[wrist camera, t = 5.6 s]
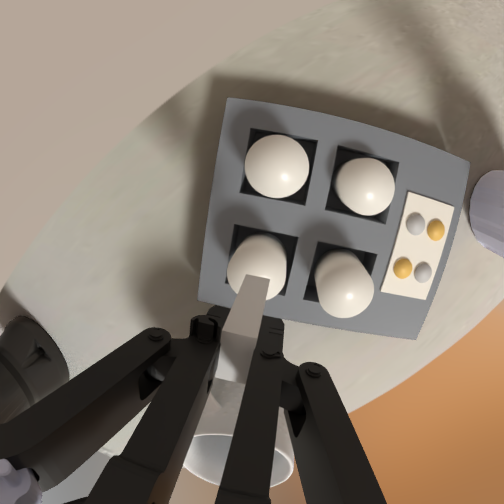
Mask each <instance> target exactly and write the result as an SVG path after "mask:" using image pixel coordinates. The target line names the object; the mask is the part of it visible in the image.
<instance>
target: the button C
mask: <svg viewBox="0 0 504 504" xmlns="http://www.w3.org/2000/svg"><path fill="white" fill-rule="evenodd" d="M314 277H315V282H316V288H317V293H318V298H319V302H320V305H321V306H322V308H323V309H324V310H325V311H326V312H327V313H328V314H330V315H332V316H334V317H338V318H349V317H353V316H356V315H358V314H360V313H361V312H362V311H364V310H365V309H366V308H367V307H368V305H369V304H370V302H371V300H372V298H373V294H374V284H373V281H372V278H371V277H370V275H369V274H368V272H367V271H366V269H365V268H364V266H363V265H362V263H361V262H360V260H359V259H358V257H357V256H356V255H355V254H354V253H353V252H351V251H349V250H346V249H341V248H338V249H332V250H329V251H327V252H326V253H324V254H323V255H322V256H321V257H320V258H319V259H318V261H317V263H316V265H315V269H314Z"/></svg>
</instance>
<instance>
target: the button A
mask: <svg viewBox="0 0 504 504" xmlns="http://www.w3.org/2000/svg"><path fill="white" fill-rule="evenodd" d="M286 263H287V254H286V249H285V247H284V245H283V243H282V242H281V241H280V240H279V239H278V238H277V237H276V236H274V235H272V234H270V233H265V232H257V233H253V234H251V235H249V236H247V237H246V238H245V239H244V240H243V241H242V242H241V243H240V245H239V247H238V248H237V250H236V251H235V253H234V255H233V256H232V258H231V260H230V262H229V264H228V268H227V278H228V282H229V284H230V286H231V288H232V289H233V290H234V291H235V293H237V294H238V292H239V289H240V287H241V285H242V282H243V280H244V278H245V275H246V274H249V275H254V276H258V277H263V278H268V279H270V282H269V287H268V292H267V297H266V300H269V299H271V298H273V297H274V296H276V295H277V294H278V293H279V292H280V291H281V289H282V288H283V286H284V284H285V280H286Z"/></svg>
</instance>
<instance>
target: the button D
mask: <svg viewBox="0 0 504 504" xmlns="http://www.w3.org/2000/svg"><path fill="white" fill-rule="evenodd" d="M332 188H333V191H334V193H335V195H336V197H337V198H338V199H339V200H340V201H341V202H342V203H343V204H345V205H346V206H347V207H349V208H350V209H351V210H353V211H354V212H356V213H358V214H361V215H375V214H378V213H380V212H382V211H383V210H385V209H386V208H387V207H388V206H389V204H390V203H391V201H392V199H393V196H394V191H395V184H394V179H393V176H392V174H391V172H390V170H389V169H388V168H387V167H386V166H385V165H384V164H383V163H382V162H380V161H378V160H376V159H372V158H358V159H349V160H346V161H344V162H342V163H341V164H340V165H339V166H338V167H337V168H336V170H335V171H334V174H333V177H332Z"/></svg>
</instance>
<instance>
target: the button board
mask: <svg viewBox="0 0 504 504" xmlns="http://www.w3.org/2000/svg"><path fill="white" fill-rule="evenodd" d="M270 135H283V136H287V137H289V138H292V139H293V140H295V141H296V142H298V143H299V144H300V145H301V146H302V148H303V149H304V151H305V152H306V155H307V157H308V161H309V173H308V176H307V179H306V181H305V183H304V184H303V186H302V187H301V188H300V189H299V190H298V191H297V192H295V193H294V194H292V195H290V196H287V197H283V198H271V197H267V196H265V195H262V194H261V193H259V192H258V191H256V190H255V189H254V188H253V187H252V186H251V184H250V183H249V181H248V179H247V177H246V173H245V159H246V155H247V153H248V151H249V149H250V148H251V147H252V145H253V144H254V143H255V142H257V141H258V140H260V139H261V138H263V137H266V136H270ZM358 158H372V159H376V160H378V161H380V162H382V163H383V164H384V165H385V166H386V167H387V168H388V169H389V170H390V172H391V174H392V176H393V179H394V184H395V191H394V196H393V199H392V201H391V203H390V204H389V206H388V207H387V208H386V209H385V210H383V211H382V212H380V213H378V214H375V215H361V214H358V213H356V212H354V211H353V210H351V209H350V208H349V207H347V206H346V205H345V204H343V203H342V202H341V201H340V200H339V199H338V198H337V197H336V195H335V193H334V191H333V188H332V177H333V174H334V171H335V170H336V168H337V167H338V166H339V165H340V164H341V163H342V162H344V161H346V160H349V159H358ZM469 169H470V162H469V161H466V160H464V159H462V158H460V157H457V156H455V155H453V154H450V153H448V152H446V151H443V150H441V149H438V148H436V147H433V146H430V145H428V144H425V143H423V142H420V141H417V140H414V139H411V138H409V137H406V136H403V135H400V134H397V133H394V132H391V131H388V130H384V129H381V128H378V127H375V126H371V125H368V124H364V123H361V122H357V121H353V120H349V119H346V118H342V117H338V116H333V115H329V114H325V113H321V112H316V111H311V110H306V109H301V108H296V107H291V106H286V105H280V104H274V103H267V102H261V101H254V100H246V99H238V98H229V97H227V102H226V108H225V113H224V118H223V124H222V129H221V135H220V141H219V146H218V152H217V158H216V164H215V170H214V177H213V183H212V190H211V196H210V203H209V210H208V217H207V224H206V232H205V239H204V247H203V255H202V263H201V271H200V280H199V289H198V298H197V300H198V301H202V302H206V303H210V304H215V305H219V306H223V307H228V308H232V306H233V303H234V301H235V299H236V296H237V293H235V291H234V290H233V289H232V288H231V286H230V284H229V282H228V278H227V268H228V264H229V262H230V260H231V258H232V256H233V255H234V253H235V251H236V250H237V248H238V247H239V245H240V243H241V242H242V241H243V240H244V239H245V238H246V237H247V236H249V235H251V234H253V233H257V232H265V233H270V234H272V235H274V236H276V237H277V238H278V239H279V240H280V241H281V242H282V243H283V245H284V247H285V249H286V254H287V263H286V280H285V284H284V286H283V288H282V289H281V291H280V292H279V293H278V294H277V295H276V296H274V297H273V298H271V299H269V300H266V301H265V306H264V311H263V315H265V316H270V317H275V318H280V319H285V320H291V321H296V322H301V323H307V324H312V325H318V326H324V327H329V328H335V329H341V330H348V331H354V332H360V333H367V334H374V335H381V336H388V337H396V338H403V339H411V340H416V339H417V336H418V334H419V332H420V330H421V328H422V325H423V323H424V321H425V318H426V316H427V314H428V311H429V309H430V306H431V304H432V301H433V299H434V296H435V294H436V291H437V288H438V286H439V283H440V280H441V277H442V274H443V271H444V268H445V265H446V262H447V259H448V256H449V253H450V250H451V246H452V243H453V240H454V236H455V232H456V229H457V225H458V221H459V217H460V213H461V209H462V204H463V200H464V195H465V190H466V185H467V180H468V175H469ZM338 248H341V249H346V250H349V251H351V252H353V253H354V254H355V255H356V256H357V257H358V259H359V260H360V262H361V263H362V265H363V266H364V268H365V269H366V271H367V272H368V274H369V275H370V277H371V278H372V281H373V284H374V294H373V298H372V300H371V302H370V304H369V305H368V307H367V308H366V309H365V310H364V311H362V312H361V313H360V314H358V315H356V316H353V317H349V318H338V317H334V316H332V315H330V314H328V313H327V312H326V311H325V310H324V309H323V308H322V306H321V305H320V302H319V298H318V293H317V288H316V282H315V277H314V269H315V265H316V263H317V261H318V259H319V258H320V257H321V256H322V255H323V254H324V253H326V252H327V251H329V250H332V249H338Z"/></svg>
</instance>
